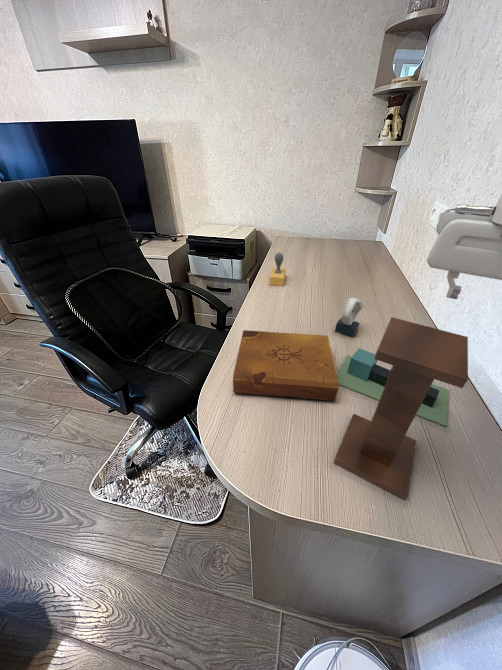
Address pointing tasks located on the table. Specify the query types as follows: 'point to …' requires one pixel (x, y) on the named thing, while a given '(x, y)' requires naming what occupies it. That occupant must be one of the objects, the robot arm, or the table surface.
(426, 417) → the mat
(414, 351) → the stand
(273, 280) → the rubber stamp
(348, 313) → the watch
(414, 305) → the table surface
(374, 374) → the teal headed hammer
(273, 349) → the diary
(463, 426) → the table surface
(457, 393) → the table surface
